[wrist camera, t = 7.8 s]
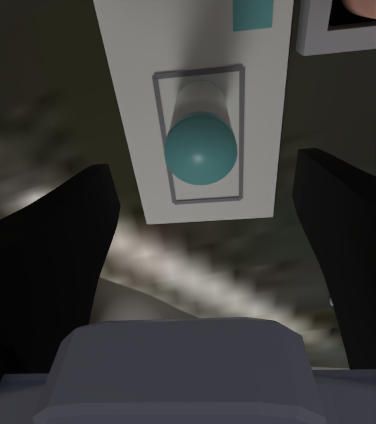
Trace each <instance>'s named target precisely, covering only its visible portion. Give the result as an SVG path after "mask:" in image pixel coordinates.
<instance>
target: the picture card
mask: <svg viewBox="0 0 376 424" xmlns="http://www.w3.org/2000/svg"><path fill="white" fill-rule="evenodd" d="M93 1H94V5H95V10H96V14H97V18H98V22H99V26H100V30H101V35H102V39H103V43H104V47H105V51H106V55H107V60H108V64H109V68H110V72H111V76H112V80H113V85H114V89H115V93H116V97H117V101H118V106H119V110H120V114H121V118H122V122H123V126H124V131H125V135H126V139H127V143H128V147H129V151H130V156H131V160H132V164H133V168H134V172H135V176H136V181H137V185H138V189H139V193H140V197H141V201H142V206H143V210H144V214H145V218H146V222H147V224H161V223H178V222H195V221H212V220H230V219H247V218H264V217H273V209H274V199H275V188H276V178H277V168H278V157H279V147H280V136H281V126H282V115H283V105H284V95H285V84H286V74H287V63H288V53H289V42H290V32H291V21H292V11H293V1H294V0H93ZM195 80H207V81H210V82H212V83H213V84H215V85H216V86H217V87H218V88H219V89H220V90H221V91H222V93H223V95H224V97H225V101H226V105H227V110H228V114H229V118H230V123H231V127H232V130H233V132H234V135H235V139H236V143H237V152H238V153H237V159H236V162H235V165H234V167H233V168H232V170H231V171H230V172H229V173H228V174H227V175H226V176H225V177H224V178H223V179H221V180H219V181H217V182H215V183H212V184H208V185H192V184H188V183H186V182H184V181H182V180H180V179H178V178H177V177H176V176H175V175H174V174H173V173H172V172H171V171H170V169H169V168H168V166H167V164H166V161H165V157H164V147H165V143H166V138H167V134H168V132H169V130H170V125H171V120H172V116H173V111H174V106H175V102H176V98H177V95H178V94H179V92H180V91H181V89H182V88H183V87H184V86H186V85H187V84H188V83H190V82H192V81H195Z"/></svg>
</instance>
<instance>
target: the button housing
mask: <svg viewBox="0 0 376 424" xmlns="http://www.w3.org/2000/svg"><path fill="white" fill-rule="evenodd" d="M331 5H332V0H301V4H300V13H299V23H298V32H297V41H296V51H297V52H299V53H300V54H302V55H303V56H308V55H317V54H327V53H337V52H347V51H357V50H366V49H376V21H371V22H362V23H353V24H343V25H334V26H328V23H329V17H330V11H331Z"/></svg>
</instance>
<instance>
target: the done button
mask: <svg viewBox="0 0 376 424" xmlns="http://www.w3.org/2000/svg"><path fill="white" fill-rule="evenodd" d="M341 1H342V3H343V5H344V7H345V8H346V9H347V10H348V11H349V12H351V13H353V14H355V15H358V16H363V17H368V18H373V19H376V0H341Z"/></svg>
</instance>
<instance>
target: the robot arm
mask: <svg viewBox="0 0 376 424" xmlns="http://www.w3.org/2000/svg"><path fill="white" fill-rule="evenodd" d="M292 197H293V201H294V205H295V208H296V212H297V215H298V218H299V220H300V223H301V225H302V227H303V229H304V231H305V234H306V236H307V238H308V240H309V242H310V245H311V247H312V249H313V251H314V253H315V255H316V258H317V260H318V262H319V264H320V267H321V269H322V272H323V275H324V278H325V281H326V284H327V287H328V290H329V294H330V297H331V298H330V304H331V305H332V306H333V307H334V310H335V314H336V317H337V321H338V324H339V328H340V332H341V336H342V340H343V343H344V347H345V351H346V355H347V359H348V364H349V368H350V370H312V369H311V366H310V362H309V359H308V355H307V352H306V348H305V345H304V341H303V338H302V336H301V335H299V334H298V333H296V332H294V331H292V330H291V329H289V328H287V327H285V326H284V325H282V324H280V323H278V322H276V321H273V320H265V319H257V318H249V317H232V318H196V319H166V320H165V319H161V320H128V321H105V322H100V323H95V324H90V325H89V320H90V315H91V310H92V305H93V300H94V296H95V292H96V287H97V283H98V279H99V276H100V273H101V270H102V267H103V264H104V262H105V259H106V256H107V253H108V250H109V248H110V245H111V242H112V239H113V236H114V233H115V230H116V227H117V223H118V218H119V212H120V203H119V200H118V196H117V193H116V189H115V186H114V183H113V179H112V176H111V173H110V169H109V166H108V164H97V165H91V166H89V167H87V168H86V169H84V170H82V171H81V172H79V173H78V174H76V175H75V176H73V177H72V178H70V179H69V180H68V181H66V182H65V183H63V184H62V185H60V186H59V187H57V188H56V189H54V190H53V191H51V192H49V193H48V194H46V195H45V196H43V197H41V198H40V199H38V200H37V201H35V202H33V203H32V204H30V205H28V206H26V207H24V208H23V209H21V210H19V211H17V212H15V213H13V214H11V215H9V216H7V217H5V218H3V219H0V424H376V177H375V176H373V175H371V174H369V173H367V172H364V171H362V170H360V169H358V168H356V167H354V166H352V165H350V164H348V163H346V162H344V161H342V160H340V159H338V158H336V157H335V156H333V155H331V154H329V153H327V152H324V151H322V150H320V149H317V148H310V149H299V150H298V157H297V164H296V171H295V179H294V186H293V193H292Z"/></svg>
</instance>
